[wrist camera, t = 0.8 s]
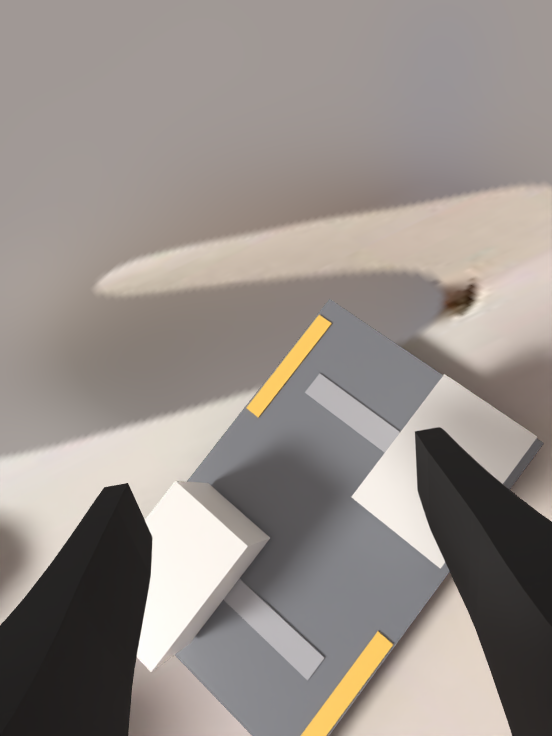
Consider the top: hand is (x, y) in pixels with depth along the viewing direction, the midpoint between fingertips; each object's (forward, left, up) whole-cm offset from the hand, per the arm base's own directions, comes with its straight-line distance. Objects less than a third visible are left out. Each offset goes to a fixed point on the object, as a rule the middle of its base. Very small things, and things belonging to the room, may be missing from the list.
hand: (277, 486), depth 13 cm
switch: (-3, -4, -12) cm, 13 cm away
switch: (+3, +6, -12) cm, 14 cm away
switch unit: (0, +1, -14) cm, 14 cm away
